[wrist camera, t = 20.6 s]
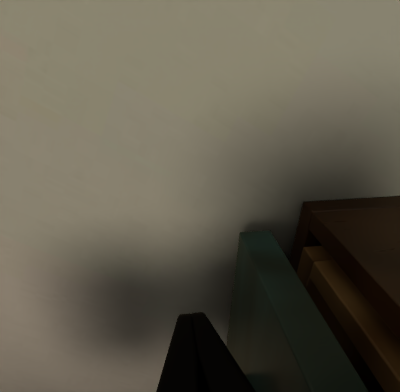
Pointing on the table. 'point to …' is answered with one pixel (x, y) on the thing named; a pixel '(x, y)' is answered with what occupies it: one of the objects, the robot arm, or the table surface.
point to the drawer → (306, 324)
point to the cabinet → (358, 246)
